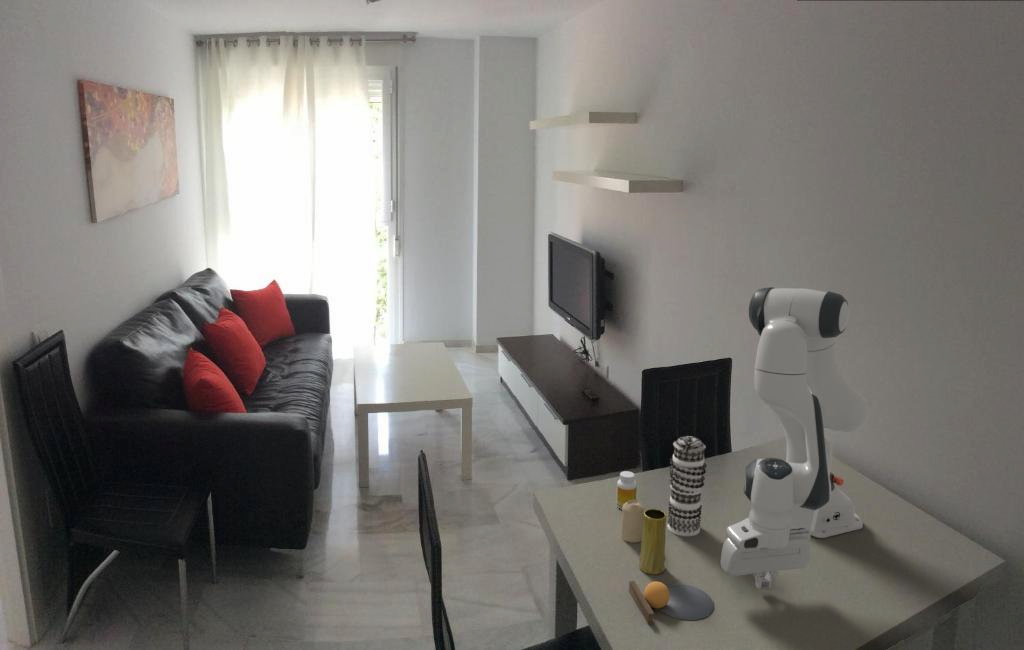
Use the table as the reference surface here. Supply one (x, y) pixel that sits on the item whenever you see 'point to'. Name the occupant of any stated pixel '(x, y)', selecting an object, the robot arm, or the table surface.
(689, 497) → the decorative candle
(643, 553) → the vase
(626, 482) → the supplement bottle
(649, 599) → the ball
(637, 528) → the candle
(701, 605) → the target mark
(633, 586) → the stopper strip
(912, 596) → the table surface
